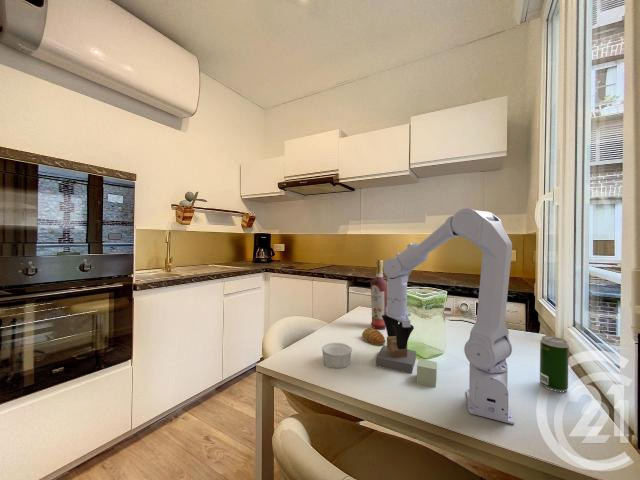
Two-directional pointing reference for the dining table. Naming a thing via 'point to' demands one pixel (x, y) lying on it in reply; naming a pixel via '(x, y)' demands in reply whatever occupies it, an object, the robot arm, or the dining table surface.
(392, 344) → the walnut cube
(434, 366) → the sage green cube
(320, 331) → the dining table surface
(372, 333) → the pastry
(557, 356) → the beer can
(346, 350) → the ramekin
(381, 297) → the liquor
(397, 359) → the charcoal slab
